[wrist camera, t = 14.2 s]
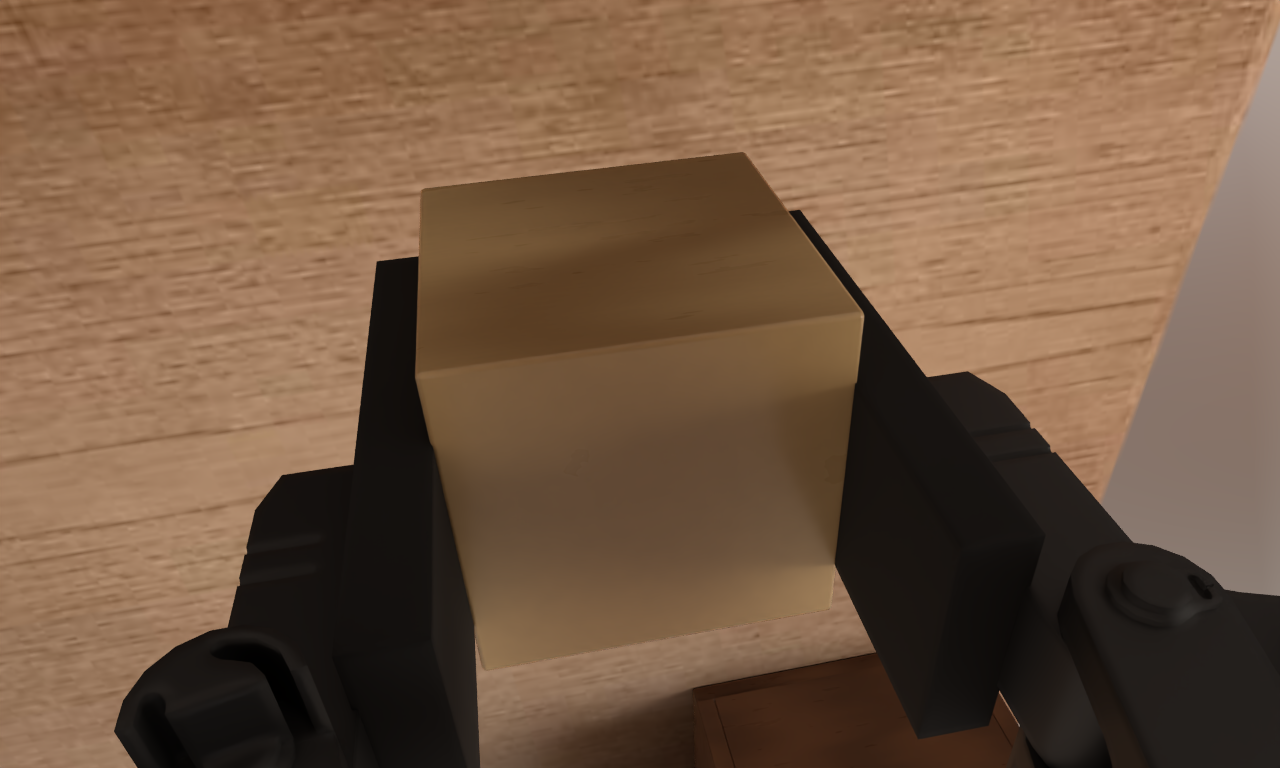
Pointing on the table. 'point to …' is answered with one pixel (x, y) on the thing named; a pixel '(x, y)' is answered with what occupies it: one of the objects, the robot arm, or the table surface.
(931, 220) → the table surface
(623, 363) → the block
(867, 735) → the wooden box
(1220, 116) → the table surface
